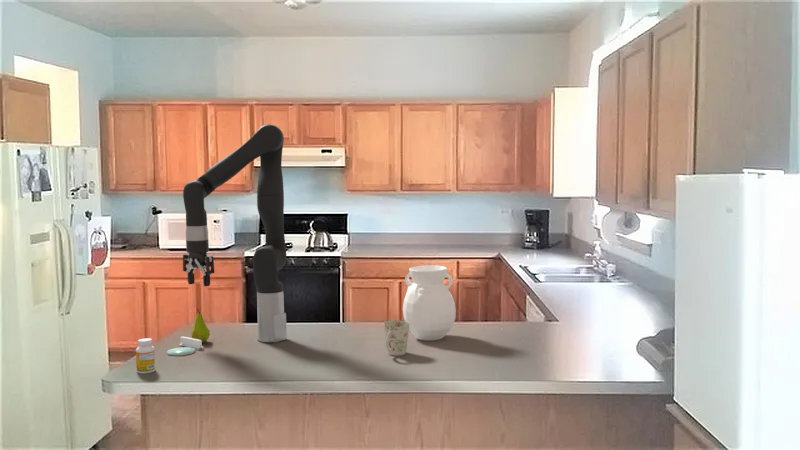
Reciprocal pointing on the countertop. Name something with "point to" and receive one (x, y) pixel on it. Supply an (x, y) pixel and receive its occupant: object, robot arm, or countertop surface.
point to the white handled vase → (429, 302)
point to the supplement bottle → (145, 356)
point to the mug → (396, 337)
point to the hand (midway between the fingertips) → (199, 285)
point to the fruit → (200, 329)
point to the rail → (191, 343)
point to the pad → (181, 351)
